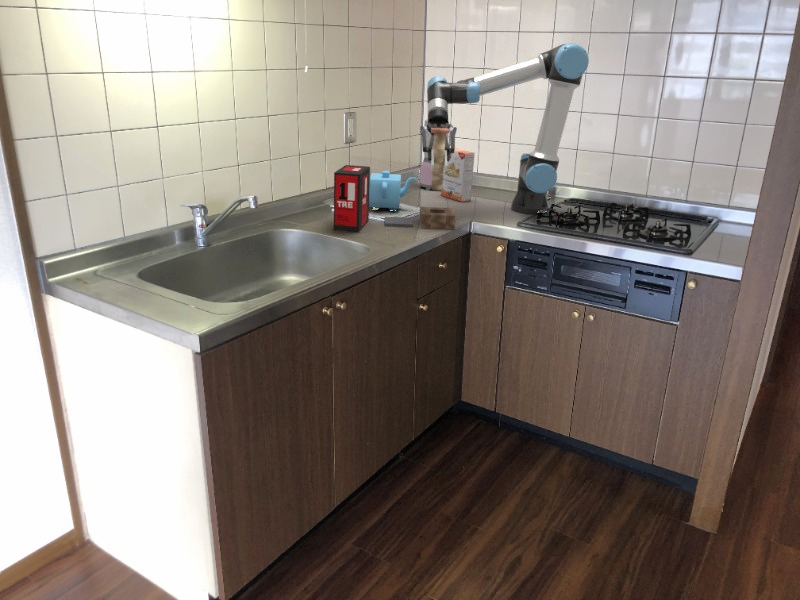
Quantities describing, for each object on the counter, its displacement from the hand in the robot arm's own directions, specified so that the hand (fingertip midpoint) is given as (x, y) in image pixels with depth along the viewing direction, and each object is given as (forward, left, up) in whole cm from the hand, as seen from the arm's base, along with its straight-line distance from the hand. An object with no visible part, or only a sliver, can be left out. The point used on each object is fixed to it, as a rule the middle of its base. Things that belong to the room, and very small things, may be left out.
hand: (439, 167), depth 229 cm
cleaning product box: (+30, +2, -22) cm, 37 cm away
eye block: (-1, -4, -22) cm, 22 cm away
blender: (-6, -73, -22) cm, 76 cm away
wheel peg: (0, -4, -8) cm, 9 cm away
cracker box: (-13, -51, -22) cm, 57 cm away
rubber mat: (+13, -4, -22) cm, 25 cm away
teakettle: (+18, -28, -22) cm, 40 cm away
